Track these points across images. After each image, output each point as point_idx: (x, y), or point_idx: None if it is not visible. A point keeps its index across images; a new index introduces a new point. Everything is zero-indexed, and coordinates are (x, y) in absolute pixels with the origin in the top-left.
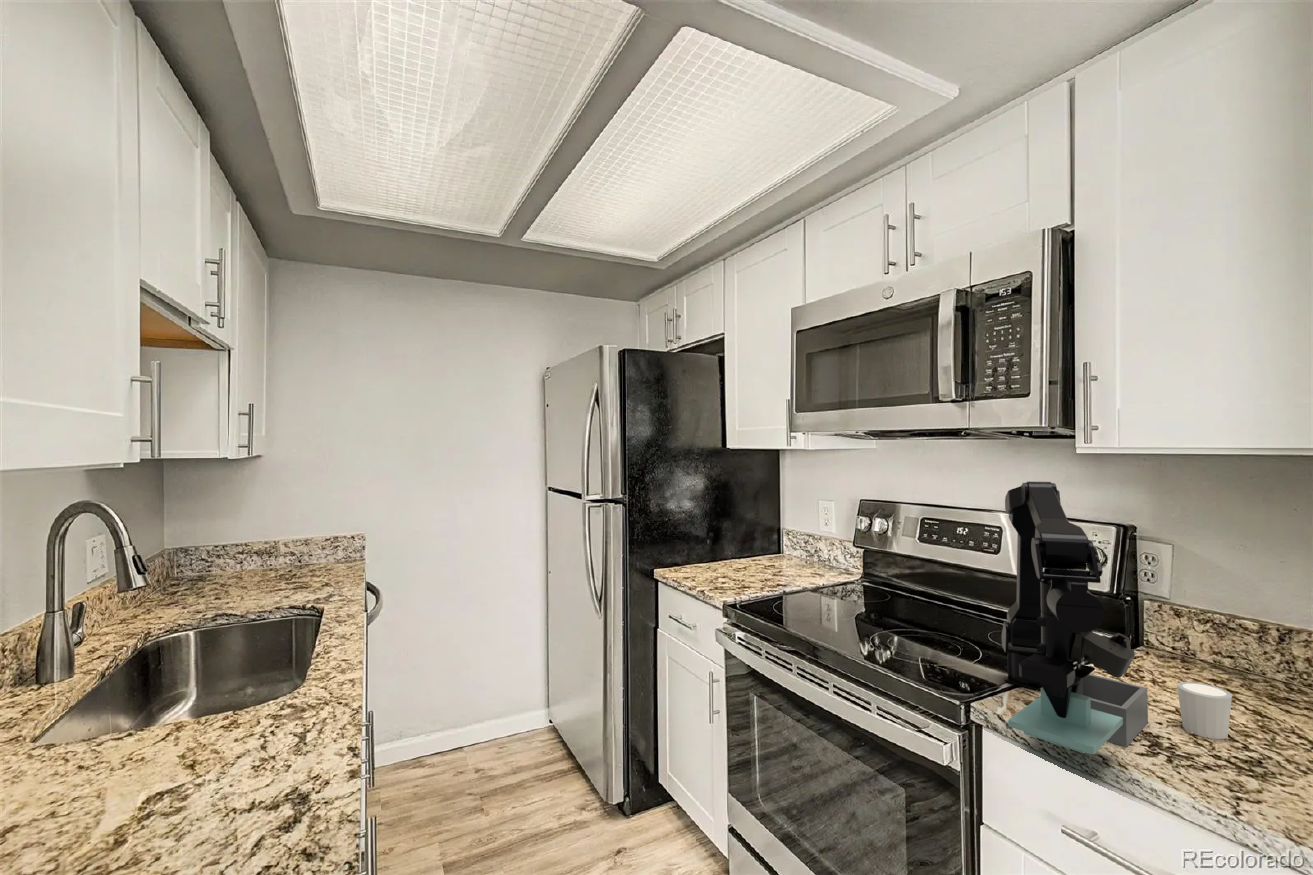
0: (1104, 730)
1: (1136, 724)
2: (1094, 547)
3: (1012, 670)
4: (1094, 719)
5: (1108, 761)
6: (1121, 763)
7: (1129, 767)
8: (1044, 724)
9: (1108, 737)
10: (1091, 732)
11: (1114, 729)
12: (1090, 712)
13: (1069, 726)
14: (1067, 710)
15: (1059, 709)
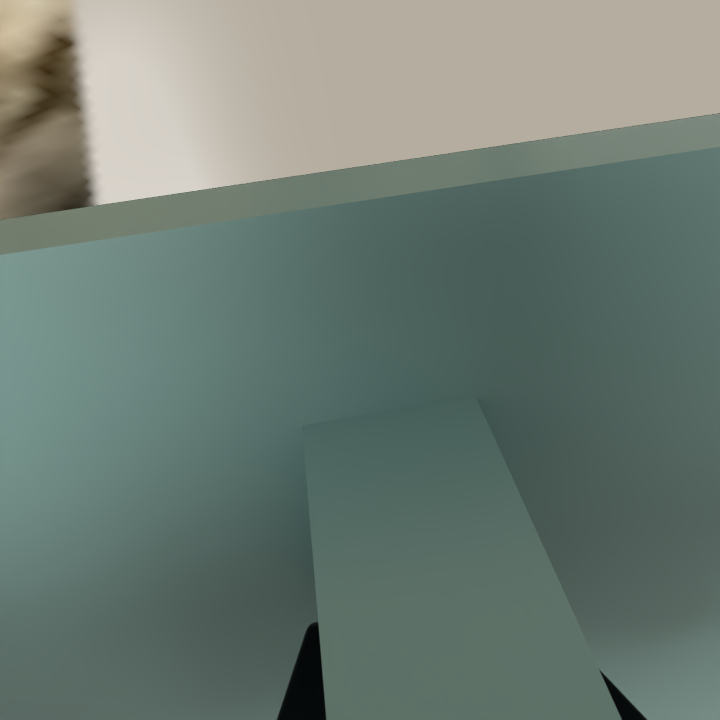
0: (372, 253)
1: None
2: None
3: None
4: (122, 461)
5: (89, 179)
6: (13, 102)
7: (16, 26)
8: (705, 591)
9: (383, 171)
10: (585, 310)
11: (84, 224)
12: (321, 539)
13: (581, 489)
14: None
15: None
